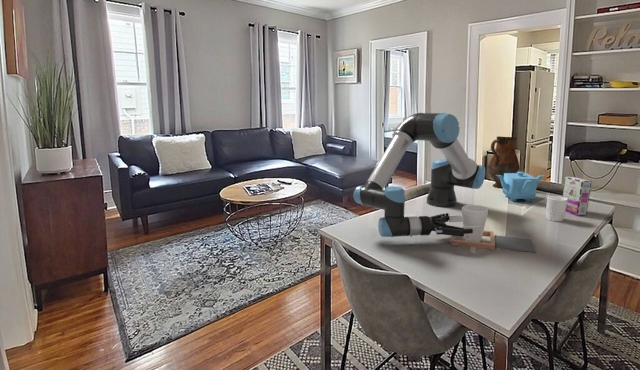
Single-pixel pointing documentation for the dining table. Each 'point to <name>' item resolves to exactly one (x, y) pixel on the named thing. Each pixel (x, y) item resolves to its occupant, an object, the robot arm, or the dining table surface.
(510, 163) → the pitcher
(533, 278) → the dining table surface
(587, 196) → the candy bar box
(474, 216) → the foam cup
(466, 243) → the terracotta frame
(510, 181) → the teakettle
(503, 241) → the rubber mat
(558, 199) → the white cup
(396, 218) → the robot arm
